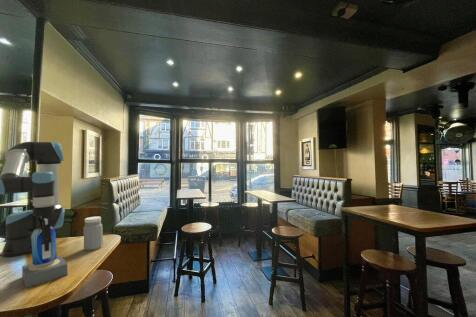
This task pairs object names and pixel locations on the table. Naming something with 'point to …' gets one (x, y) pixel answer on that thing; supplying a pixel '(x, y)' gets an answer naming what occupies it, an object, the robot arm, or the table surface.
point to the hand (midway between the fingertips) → (44, 254)
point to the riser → (43, 272)
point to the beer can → (37, 248)
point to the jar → (93, 233)
